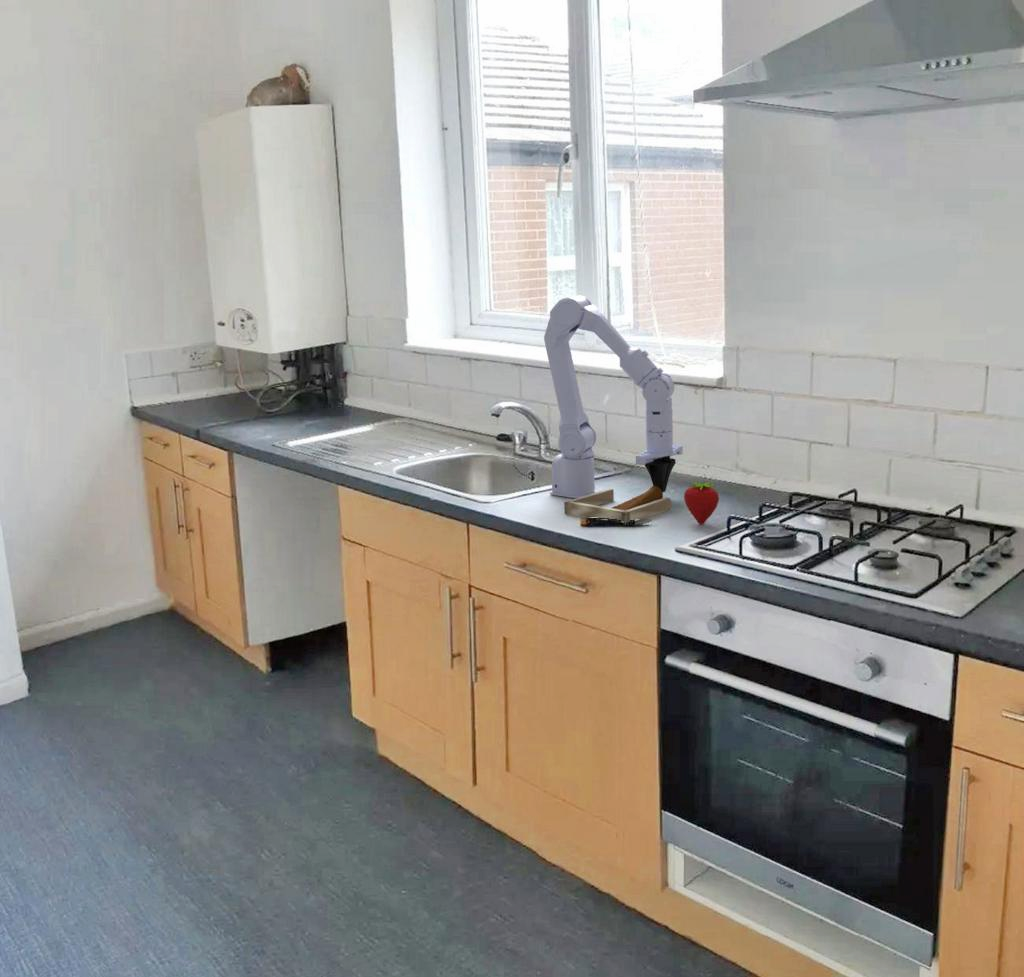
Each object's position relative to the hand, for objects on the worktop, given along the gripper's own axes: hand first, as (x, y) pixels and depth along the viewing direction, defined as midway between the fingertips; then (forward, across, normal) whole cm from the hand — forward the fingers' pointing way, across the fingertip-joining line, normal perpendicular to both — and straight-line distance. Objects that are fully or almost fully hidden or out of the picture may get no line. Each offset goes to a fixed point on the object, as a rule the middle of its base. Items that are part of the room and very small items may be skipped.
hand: (660, 491), depth 240 cm
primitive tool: (+2, -11, -1) cm, 11 cm away
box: (+1, -14, 0) cm, 15 cm away
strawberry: (+2, -14, -20) cm, 24 cm away
